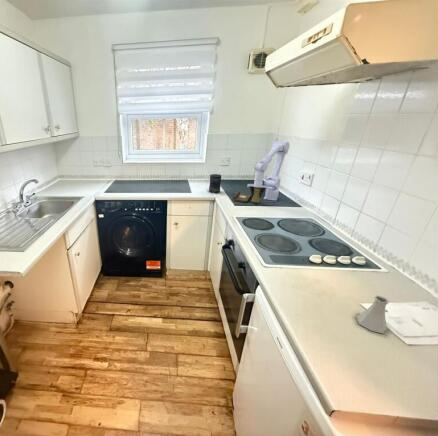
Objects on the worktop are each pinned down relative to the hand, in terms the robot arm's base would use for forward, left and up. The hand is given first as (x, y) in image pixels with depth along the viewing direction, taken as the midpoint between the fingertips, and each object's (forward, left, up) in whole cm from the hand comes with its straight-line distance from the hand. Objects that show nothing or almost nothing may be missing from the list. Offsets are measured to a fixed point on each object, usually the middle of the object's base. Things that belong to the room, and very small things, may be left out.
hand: (256, 197), depth 180 cm
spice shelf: (+11, -7, -5) cm, 14 cm away
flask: (-51, +105, -5) cm, 117 cm away
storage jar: (+37, -17, -5) cm, 41 cm away
